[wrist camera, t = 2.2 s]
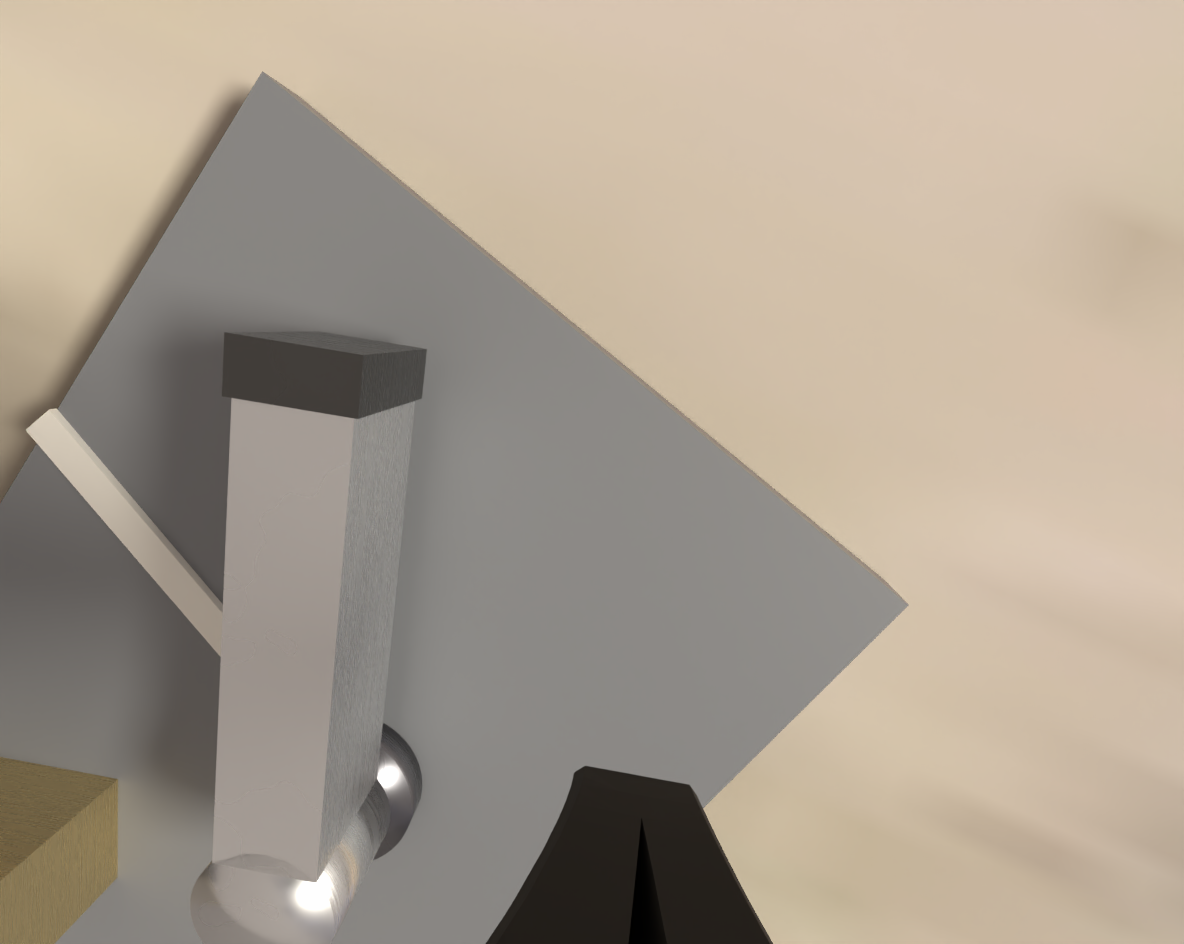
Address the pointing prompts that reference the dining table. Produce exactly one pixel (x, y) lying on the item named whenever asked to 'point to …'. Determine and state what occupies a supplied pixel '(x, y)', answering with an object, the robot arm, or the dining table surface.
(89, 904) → the tan block
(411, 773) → the dark grey round disc
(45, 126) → the dining table surface
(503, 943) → the robot arm
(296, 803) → the bar
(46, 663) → the plate
